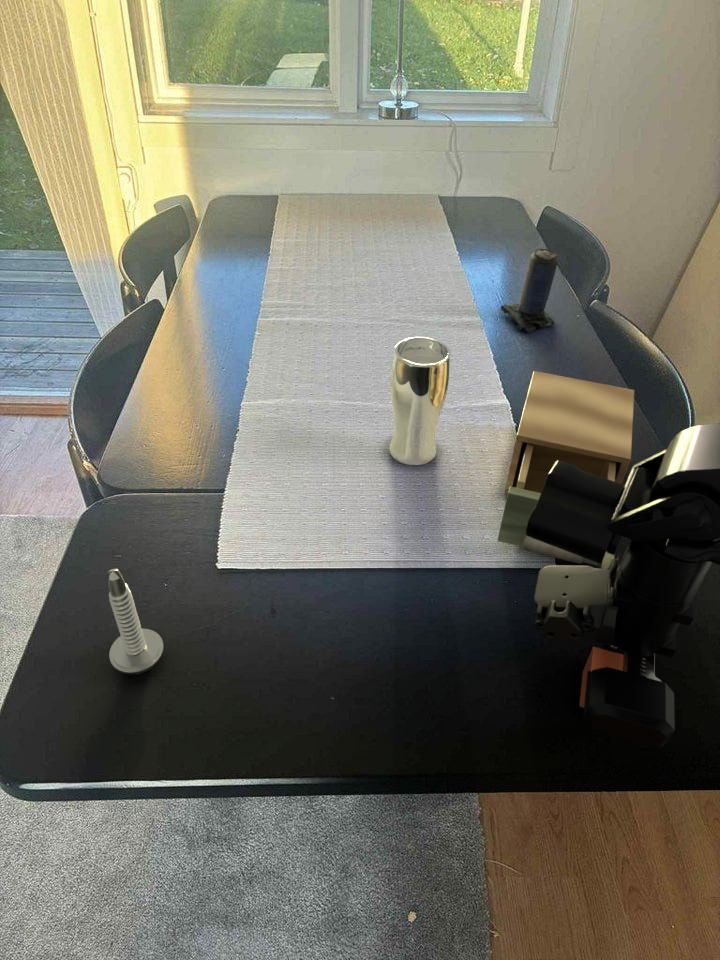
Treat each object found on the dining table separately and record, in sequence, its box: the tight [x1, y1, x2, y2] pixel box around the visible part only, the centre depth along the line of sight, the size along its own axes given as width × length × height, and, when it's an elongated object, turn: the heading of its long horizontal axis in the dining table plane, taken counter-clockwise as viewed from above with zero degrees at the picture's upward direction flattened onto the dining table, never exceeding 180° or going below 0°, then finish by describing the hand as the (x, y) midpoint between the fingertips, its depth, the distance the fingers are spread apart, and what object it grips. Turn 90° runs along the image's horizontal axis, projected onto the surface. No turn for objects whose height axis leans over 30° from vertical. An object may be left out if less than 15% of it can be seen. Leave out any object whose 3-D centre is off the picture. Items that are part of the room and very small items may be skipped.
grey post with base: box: [500, 248, 559, 333], centre depth 116 cm, size 9×8×12 cm
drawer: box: [497, 443, 616, 567], centre depth 78 cm, size 18×11×7 cm, turn 162°
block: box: [579, 646, 623, 709], centre depth 64 cm, size 4×4×4 cm
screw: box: [107, 568, 165, 676], centre depth 62 cm, size 13×5×5 cm
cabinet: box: [503, 370, 635, 495], centre depth 87 cm, size 15×13×9 cm
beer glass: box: [389, 336, 452, 466], centre depth 87 cm, size 7×7×15 cm
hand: (605, 688), depth 64 cm, fingers open, 6 cm apart
